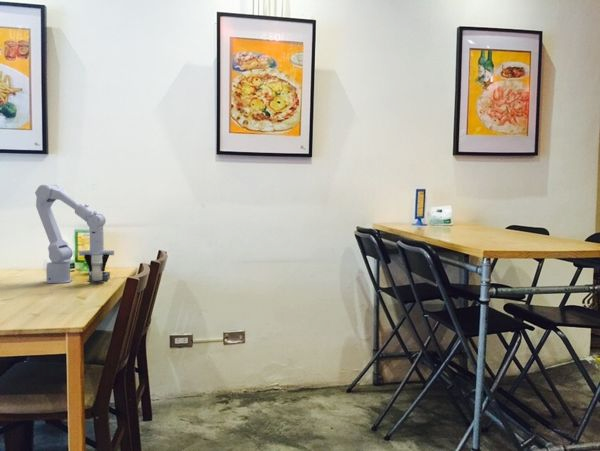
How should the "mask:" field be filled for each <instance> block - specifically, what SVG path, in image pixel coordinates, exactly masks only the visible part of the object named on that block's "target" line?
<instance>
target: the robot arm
mask: <svg viewBox="0 0 600 451" xmlns="http://www.w3.org/2000/svg"><path fill="white" fill-rule="evenodd" d="M34 193H35V197H36V200H35V207H36V209H37V213H38V215H39V218H40V221H41V223H42V226H43V228H44V231H45V234H46V236H47V240H48V241H49V245H48V247H47V250H48V259H49V260H50V261H51V262H47V264H46V269H45V270H46V271H45V272H46V284H66V283H71V282H72V280H73V278H71V259H72V257H73V253H74V252H73V248H71V247H70V246H69V244H68V242H66V241H65V240H64V239H63V237H62V234H61V231H60V229H59V226H58V223H57V220H56V218H55V215H54V213H53V212H54V211H53V210H52V205H53V203H55V201H57V200H59V201H62V203H64V204H66V205H67V206H68V207H70V208H71V209H73V210H74V214H75V215H76V216H78V217H79V218H81V219H82V220H83V221H85V222H86V224H87V226H88V227H89V228H88V231H89V250H79V251H78V256H79V257H82V256H83V258H84V260H85V262H86V264H87V268H88V267H89V270H88V273H89V272H91V271H92V266H91V261H92V255H103V256H102V261H103V267H102V272H106V265H107V262H108V260H109V257H110V256H114V255H115V250H105V249H104V248H105V246H104V226H105V224H106V220H107V219H106V218H105V216H104V214H102V213H98V212H97V211H96V210H93V209H92V208H91V207H89V206H90V205H89V204H87V203H79V202H78V201H77V200H76V199H75V198H74V197H72V196H71V195H70V194H68V193H67V192H66V191H65V190H64V189H63V188H62V187H60V186H59V185H58V184H40V185H39V186H37V189H36V190H35V192H34Z"/></svg>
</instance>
